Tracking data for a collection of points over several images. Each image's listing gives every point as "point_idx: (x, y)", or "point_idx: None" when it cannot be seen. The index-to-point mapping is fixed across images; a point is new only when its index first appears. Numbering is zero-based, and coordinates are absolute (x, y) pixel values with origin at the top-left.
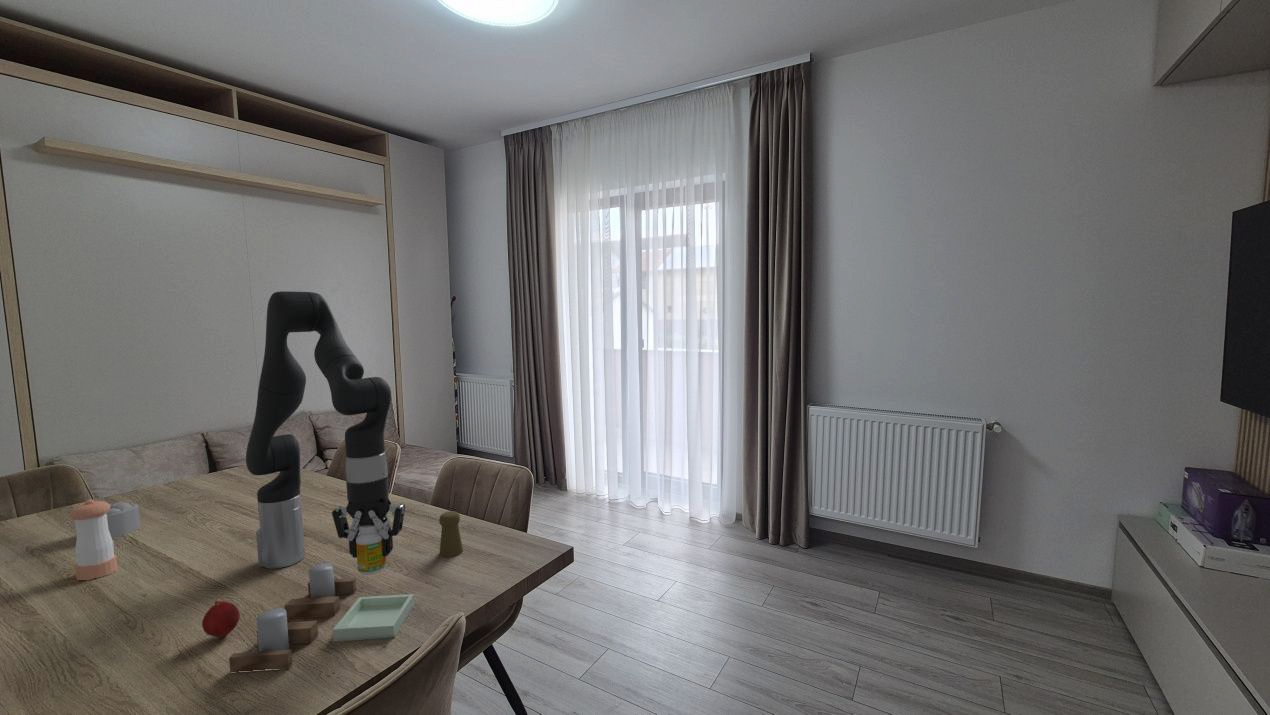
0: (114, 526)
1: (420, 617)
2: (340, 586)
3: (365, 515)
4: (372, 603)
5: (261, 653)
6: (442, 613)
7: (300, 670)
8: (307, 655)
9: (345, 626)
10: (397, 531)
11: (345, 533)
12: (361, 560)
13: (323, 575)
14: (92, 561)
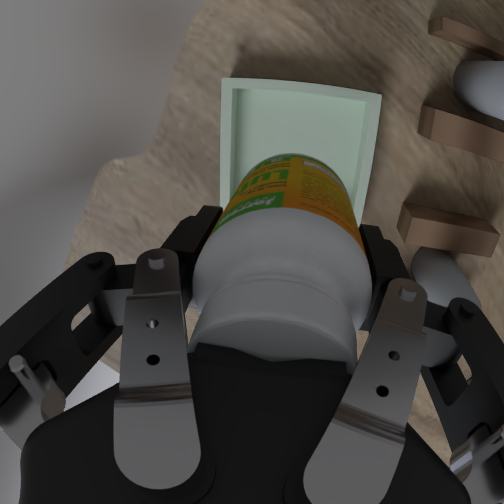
0: None
1: (195, 152)
2: None
3: (276, 448)
4: None
5: (493, 44)
6: (152, 161)
7: (403, 9)
8: (412, 57)
9: (353, 99)
10: (75, 267)
11: (443, 327)
12: (322, 178)
13: (450, 292)
14: None
